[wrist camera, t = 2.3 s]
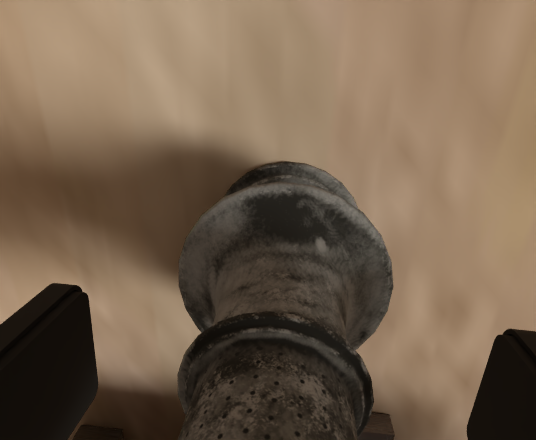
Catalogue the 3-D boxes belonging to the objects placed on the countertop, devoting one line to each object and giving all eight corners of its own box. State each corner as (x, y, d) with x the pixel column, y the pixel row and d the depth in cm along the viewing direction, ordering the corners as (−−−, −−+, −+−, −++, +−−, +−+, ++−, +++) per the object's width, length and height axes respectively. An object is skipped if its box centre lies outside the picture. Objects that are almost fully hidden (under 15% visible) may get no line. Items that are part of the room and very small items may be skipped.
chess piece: (263, 326, 15) (162, 993, 4) (174, 207, 14) (-343, 781, 3) (400, 260, 14) (791, 1038, 3) (318, 118, 12) (469, 605, 1)
